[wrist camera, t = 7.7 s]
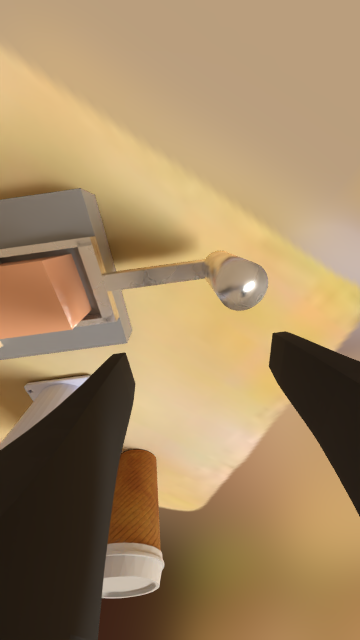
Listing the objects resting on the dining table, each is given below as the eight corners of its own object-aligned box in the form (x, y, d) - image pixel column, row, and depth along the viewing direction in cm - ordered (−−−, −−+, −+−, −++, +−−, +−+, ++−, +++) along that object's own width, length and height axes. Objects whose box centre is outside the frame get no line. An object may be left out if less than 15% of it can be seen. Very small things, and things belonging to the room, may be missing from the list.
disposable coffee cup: (95, 462, 30) (52, 593, 19) (132, 434, 27) (107, 569, 16) (140, 481, 33) (126, 602, 22) (178, 458, 30) (182, 583, 20)
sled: (230, 217, 13) (274, 208, 7) (230, 301, 16) (263, 339, 10) (-19, 252, 13) (-153, 267, 8) (25, 329, 16) (-50, 380, 10)
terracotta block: (71, 253, 14) (41, 260, 10) (91, 309, 16) (72, 329, 12) (4, 262, 14) (-45, 272, 10) (33, 317, 16) (-1, 339, 12)
